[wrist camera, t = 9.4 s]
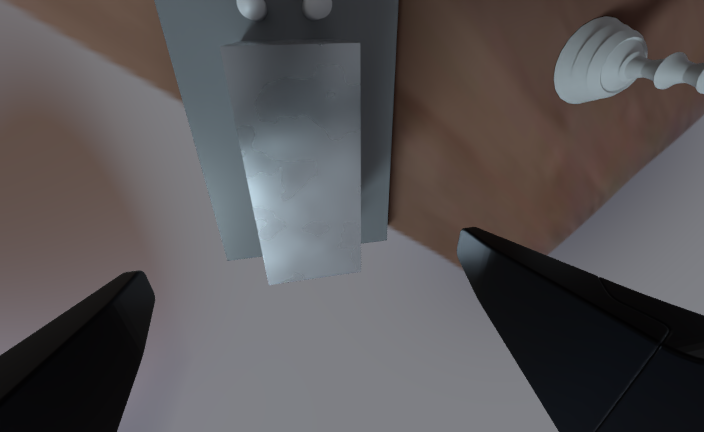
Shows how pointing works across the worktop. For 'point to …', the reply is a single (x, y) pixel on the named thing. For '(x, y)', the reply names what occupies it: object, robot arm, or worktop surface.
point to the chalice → (615, 63)
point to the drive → (300, 151)
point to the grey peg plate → (216, 110)
